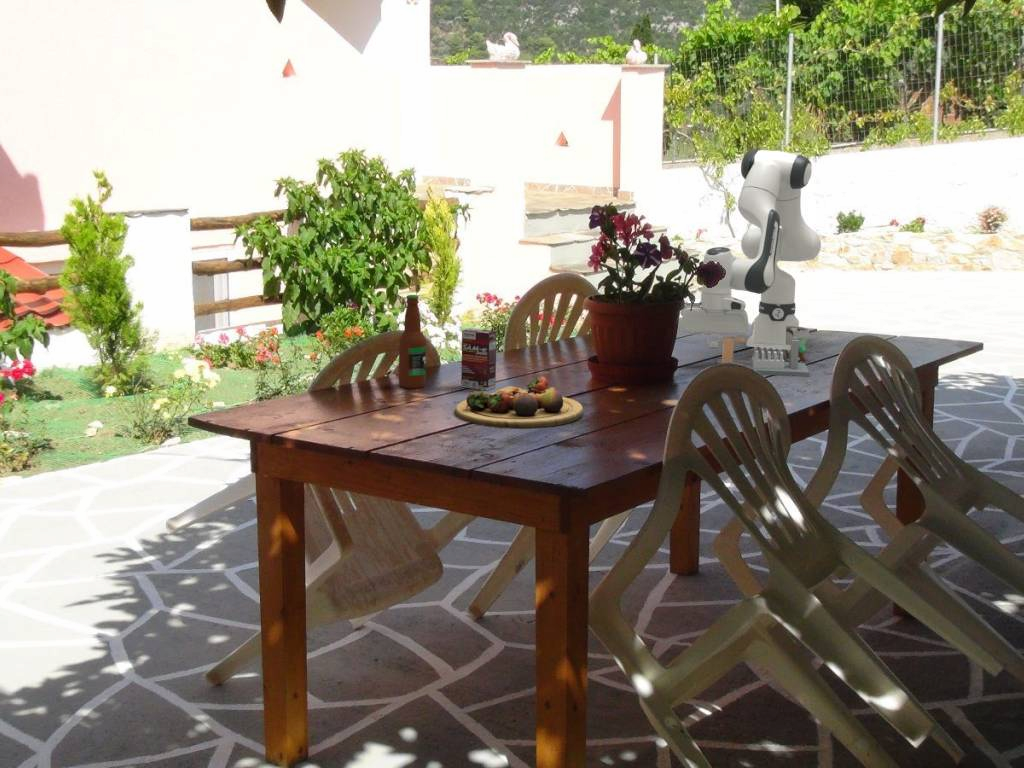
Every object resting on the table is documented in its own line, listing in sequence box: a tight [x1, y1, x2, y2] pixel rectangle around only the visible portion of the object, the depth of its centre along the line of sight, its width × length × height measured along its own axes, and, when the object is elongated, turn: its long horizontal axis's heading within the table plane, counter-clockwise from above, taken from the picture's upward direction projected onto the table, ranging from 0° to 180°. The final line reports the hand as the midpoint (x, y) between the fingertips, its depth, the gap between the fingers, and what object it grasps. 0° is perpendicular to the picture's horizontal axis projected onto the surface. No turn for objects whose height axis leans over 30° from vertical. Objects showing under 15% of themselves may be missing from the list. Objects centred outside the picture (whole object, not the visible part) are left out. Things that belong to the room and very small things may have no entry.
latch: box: [721, 336, 747, 363], centre depth 384 cm, size 6×6×8 cm
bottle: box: [398, 294, 427, 389], centre depth 348 cm, size 7×7×25 cm
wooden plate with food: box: [454, 376, 584, 429], centre depth 319 cm, size 32×32×8 cm
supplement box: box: [460, 327, 498, 391], centre depth 349 cm, size 9×5×16 cm, turn 62°
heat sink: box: [717, 338, 810, 377], centre depth 383 cm, size 16×26×10 cm, turn 82°
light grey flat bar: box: [745, 340, 792, 350], centre depth 382 cm, size 3×15×1 cm, turn 82°
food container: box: [784, 326, 810, 363], centre depth 400 cm, size 12×6×10 cm, turn 179°
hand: (713, 348), depth 385 cm, fingers closed
